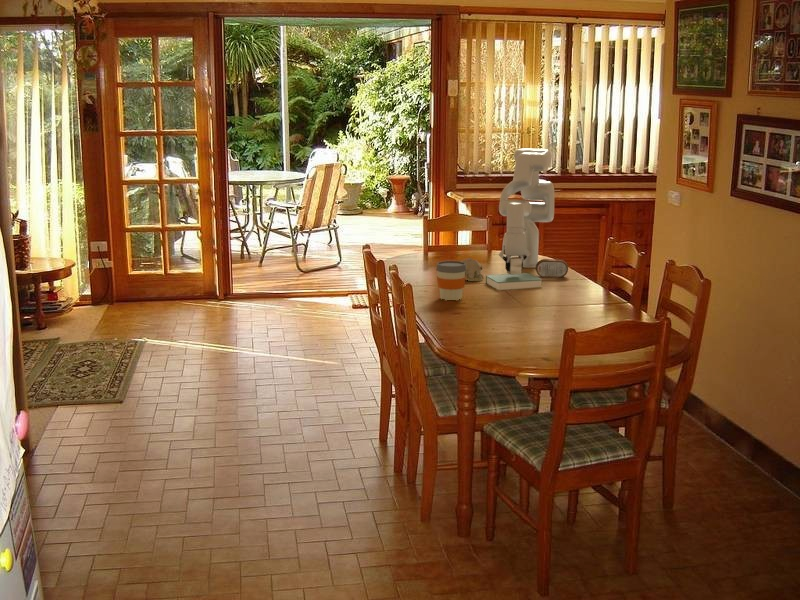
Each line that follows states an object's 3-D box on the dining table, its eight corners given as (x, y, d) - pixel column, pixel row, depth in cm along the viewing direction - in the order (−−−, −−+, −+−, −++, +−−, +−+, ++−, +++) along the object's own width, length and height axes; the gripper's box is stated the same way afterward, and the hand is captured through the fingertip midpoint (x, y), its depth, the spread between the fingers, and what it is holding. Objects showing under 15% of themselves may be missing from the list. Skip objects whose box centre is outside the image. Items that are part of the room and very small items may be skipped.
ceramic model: (487, 278, 436) (487, 256, 433) (479, 282, 426) (479, 261, 423) (459, 275, 441) (459, 254, 439) (450, 279, 431) (450, 258, 429)
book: (485, 284, 424) (485, 275, 423) (528, 281, 429) (528, 272, 428) (497, 291, 410) (497, 282, 409) (541, 288, 415) (542, 279, 414)
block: (506, 272, 420) (507, 257, 418) (517, 271, 421) (517, 256, 419) (510, 274, 415) (511, 259, 413) (521, 274, 416) (521, 258, 414)
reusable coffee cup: (431, 296, 399) (431, 261, 395) (458, 293, 403) (458, 259, 399) (443, 302, 387) (443, 267, 384) (470, 300, 391) (471, 265, 388)
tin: (567, 276, 437) (568, 259, 435) (568, 278, 434) (568, 260, 432) (535, 276, 439) (535, 258, 437) (535, 277, 436) (536, 259, 434)
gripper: (529, 228, 419) (528, 267, 423) (494, 229, 415) (493, 270, 419) (536, 230, 412) (535, 271, 416) (500, 232, 408) (499, 273, 412)
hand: (514, 270), depth 418 cm, fingers closed on block, 5 cm apart
